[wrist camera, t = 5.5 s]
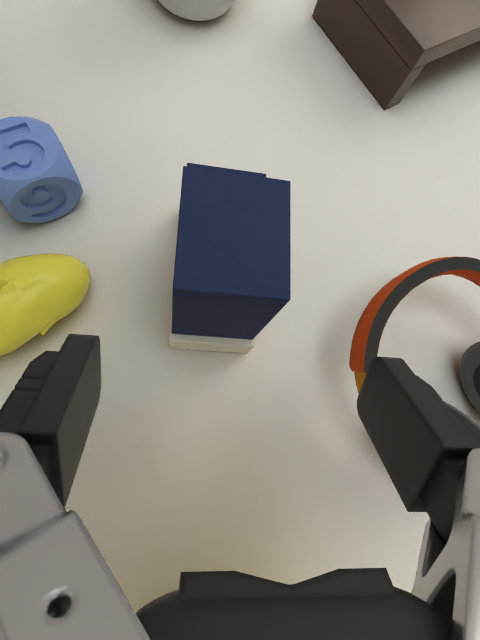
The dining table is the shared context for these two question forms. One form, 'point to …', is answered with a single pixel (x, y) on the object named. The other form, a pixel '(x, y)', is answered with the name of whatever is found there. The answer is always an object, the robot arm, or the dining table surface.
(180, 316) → the navy blue block
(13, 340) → the lemon
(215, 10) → the cup
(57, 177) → the decorative dice
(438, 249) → the dining table surface
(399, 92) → the brown platform
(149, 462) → the dining table surface
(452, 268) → the headphones
